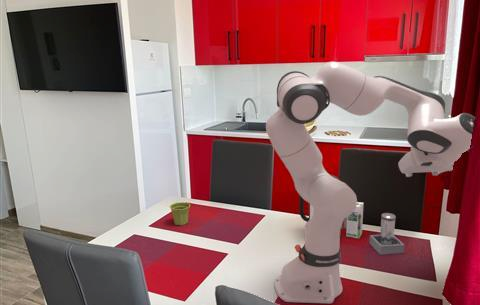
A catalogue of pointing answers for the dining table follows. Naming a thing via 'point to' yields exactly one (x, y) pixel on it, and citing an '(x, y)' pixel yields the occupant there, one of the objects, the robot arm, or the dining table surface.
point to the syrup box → (355, 222)
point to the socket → (386, 246)
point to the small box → (344, 224)
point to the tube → (387, 229)
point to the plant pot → (180, 212)
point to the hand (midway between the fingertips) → (420, 174)
